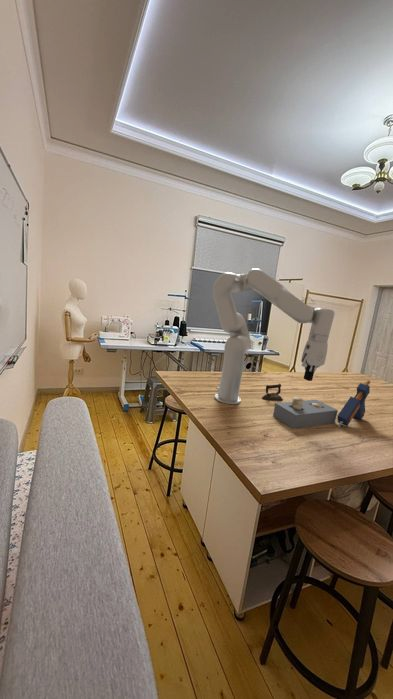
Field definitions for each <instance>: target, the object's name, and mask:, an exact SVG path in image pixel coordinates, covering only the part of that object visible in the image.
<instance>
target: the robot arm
mask: <svg viewBox="0 0 393 699" xmlns="http://www.w3.org/2000/svg"><path fill="white" fill-rule="evenodd" d="M249 291H255V292H256V293H258V294H259V295H260V296H262V297H263V298H264V299H266V300H267V301H268V302H270V303H271V304H272V305H273V306H275V307H276V308H278V309H279V310H280V311H282V312H283V313H285V314H286V315H287V316H288V317H290V318H291V319H292V320H294V321H295V322H296V323H299V324H307V323H308V324H311V326H310V329H309V330H310V331H309V334H308V338H307V340H306V343H305V346H304V348H303V351H302V354H301V360H300V361H301V367H303V368H304V370H305V371H304V375H303V380H306V381H308V382H312V381H313V378H314V374H315V372H316V370H317V369H318V368H320V367H321V366H324V365H325V362H326V359H327V352H328V346H329V345H328V344H329V343H328V341H329V337H330V333H331V329H332V325H333V321H334V318H335V314H336V313H335V311H334V310H333V309H330V308H324V307H314V306H311V305H309V304H307V303H305V302H303V301H302V300H301V299H300V298H298V297H297V296H295V295H294V294H292V293H291V292H290V291H289V289H287V287H285V286H284V285H283V284H282V283H280V282H279V281H277V280H276V279H274V278H273V277H272V276H270V275H268V274H267V273H266V272H265V271H263V270H262V269H261V268H257V267H256V268H251V269H250V270H248V271H247V273H246V272H245V273H238V274H236V273H234V272H229V271H227V272H223V273H222V274H220V275H219V276H218V277H217V278H216V280H215V281H214V284H213V287H212V296H213V301H214V304H215V308H216V312H217V315H218V319H219V323H220V327H221V329H222V330H223V332H225V333H227V334H229V338H227V339H226V342H225V343H224V350H223V351H224V353H223V363H222V369H221V376H220V382H219V386H216V389H215V390H217V392H216V393H214V398H215V400H216V401H218V402H220V403H222V404H226V405H238V404H240V403H241V402H242V399H241V397H240V396H239V394H240V390H241V389H240V388H241V384H242V382H241V381H242V376H243V371H244V366H245V365H244V364H245V355H246V352H248V351H249V350H250V348H251V346H252V339H251V336H250V332H249V330H248V325H247V322H246V319H245V317H244V316H243V315H242V314H241V313H239V312H237V308H236V305H235V301H234V298H233V296H232V293H243V292H249Z"/></svg>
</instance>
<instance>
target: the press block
mask: <svg viewBox="0 0 393 699" xmlns="http://www.w3.org/2000/svg"><path fill="white" fill-rule="evenodd" d="M312 403H317V404H320V405H322V408H316V407H314V406H312ZM291 405H292V401H284V402H276V403H275V404H274V409H273V413H272V417H274V418H276V419H277V420H279V421H280V422H281V423H283V424H285V425H286V426H288V427H290V428H291V429H293V430H295V429H300V428H308V427H313V426H321V425H327V424H333V423H336V418H337V416H338V411H339V410H338V409H337V408H334V407H332V406H330V405H329V404H327V403H324V402H323V401H319V400H318V399H310V400H309V399H307V400H306V399H305V400H304V402H303V406H302V410H298V411H296V410H295V409H293V408H291Z"/></svg>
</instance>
